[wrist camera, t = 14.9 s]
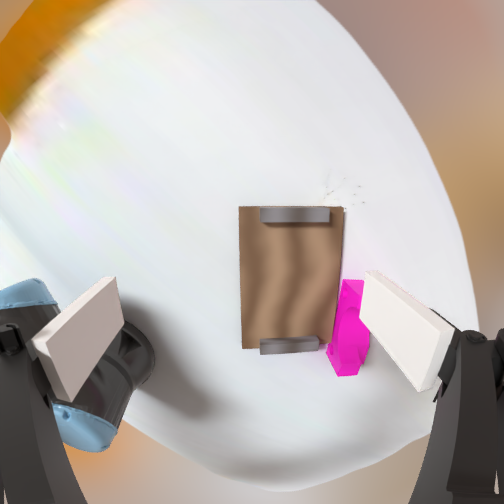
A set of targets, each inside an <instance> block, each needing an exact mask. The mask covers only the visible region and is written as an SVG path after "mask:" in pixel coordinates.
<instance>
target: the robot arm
mask: <svg viewBox="0 0 504 504" xmlns="http://www.w3.org/2000/svg"><path fill="white" fill-rule="evenodd" d="M359 318H360V319H361V321H362V322H363V323H364V324H365V325H366V327H367V328H368V329H369V330H370V332H371V333H372V334H373V335H374V336H375V338H376V339H377V340H378V341H379V343H380V344H381V345H382V346H383V348H384V349H385V350H386V351H387V353H388V354H389V355H390V357H391V358H392V359H393V360H394V362H395V363H396V364H397V365H398V367H399V368H400V369H401V371H402V372H403V373H404V374H405V376H406V377H407V378H408V380H409V381H410V382H411V384H412V385H413V386H414V388H415V389H416V390H417V391H418V393H419V392H422V391H425V390H428V389H430V388H433V386H434V383H435V381H436V379H437V376H439V377H440V379H441V380H442V383H441V385H440V388H439V390H438V392H437V394H436V396H435V398H434V400H433V402H435V401H436V400H437V405H436V411H435V416H434V421H433V426H432V430H431V435H430V439H429V443H428V447H427V450H426V454H425V457H424V461H423V464H422V467H421V471H420V474H419V477H418V480H417V482H416V485H415V488H414V491H413V493H412V496H411V498H410V501H409V503H408V504H504V328H503V329H500V330H499V332H498V334H497V337H496V340H487V338H486V337H485V336H484V335H483V334H481V333H479V332H477V331H474V330H466V331H463V332H461V331H460V330H459V329H457V328H456V327H455V326H454V325H452V324H451V323H450V322H449V321H447V320H446V319H445V318H443V317H442V316H440V314H438V313H437V312H436V311H434V310H432V309H430V308H428V307H427V306H425V305H424V304H423V303H421V302H420V301H419V300H417V299H416V298H415V297H413V296H412V295H411V294H409V293H408V292H407V291H405V290H404V289H402V288H401V287H400V286H398V285H397V284H396V283H394V282H393V281H391V280H390V279H389V278H387V277H386V276H384V275H383V274H382V273H380V272H379V271H366V272H365V280H364V288H363V296H362V302H361V309H360V315H359ZM154 362H155V358H154V353H153V349H152V347H151V345H150V343H149V342H148V340H147V339H146V337H145V336H144V335H143V334H142V333H141V332H140V331H139V330H138V329H137V328H135V327H134V326H133V325H131V324H129V323H128V322H126V321H124V319H123V314H122V309H121V304H120V299H119V294H118V288H117V282H116V277H103V278H102V279H100V280H99V281H98V282H97V283H95V284H94V285H93V286H92V287H90V288H89V289H88V290H87V291H86V292H84V293H83V294H82V295H81V296H80V297H78V298H77V299H76V300H75V301H74V302H72V303H71V304H70V305H69V306H68V307H67V308H65V309H64V310H63V311H62V312H61V311H60V309H59V308H58V306H57V302H56V301H55V300H54V299H53V297H52V296H51V294H50V292H49V291H48V289H47V287H46V285H45V284H44V282H43V281H41V280H40V279H37V278H32V279H28V280H25V281H22V282H19V283H16V284H14V285H12V286H9V287H7V288H5V289H3V290H0V504H4V490H5V494H6V498H7V502H8V504H87V502H86V500H85V497H84V495H83V493H82V491H81V489H80V487H79V484H78V482H77V480H76V477H75V475H74V473H73V470H72V468H71V465H70V463H69V460H68V457H67V454H66V451H65V448H64V445H63V442H64V443H66V444H67V445H69V446H72V447H74V448H76V449H79V450H83V451H87V452H102V451H104V450H106V449H107V448H108V447H109V446H110V444H111V442H112V440H113V438H114V437H115V435H116V434H117V430H118V428H119V425H120V422H121V420H122V417H123V415H124V412H125V410H126V407H127V405H128V402H129V400H130V397H131V395H132V393H133V391H134V390H136V389H137V388H138V387H139V386H140V385H141V384H143V383H144V382H145V381H146V380H147V379H148V378H149V376H150V374H151V372H152V370H153V367H154ZM496 470H497V477H498V487H499V494H495V492H494V486H495V478H496Z"/></svg>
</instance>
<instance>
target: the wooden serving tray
mask: <svg viewBox="0 0 504 504" xmlns="http://www.w3.org/2000/svg"><path fill="white" fill-rule="evenodd" d="M343 211H344V207H325V206H241V207H239V249H240V291H241V326H242V349H253V348H260V355H267V354H284V353H297V352H309V351H318V349H319V344H325V343H331V341H332V334H333V327H334V319H335V312H336V303H337V294H338V285H339V274H340V262H341V249H342V233H343Z"/></svg>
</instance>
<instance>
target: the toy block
mask: <svg viewBox="0 0 504 504" xmlns="http://www.w3.org/2000/svg"><path fill="white" fill-rule="evenodd" d="M363 288H364V281H363V280H349V279H343V281H342V286H341V291H340V296H339V301H338V306H337V310H336V315H335V319H334V327H333V334H332V341H331V343H329V344H328V348H327V352H326V354H327V356H328V358H329V360H330V362H331V364H332V366H333V368H334V370H335V372H336V374H337V376H338V377H340V376H352V375H357V374H358V371H359V368H360V366H361V364H364V361H365V358H366V355H367V352H368V349H369V333H370V330H369V329H368V328H367V327H366V325H365V324H364V323H363V322H362V321H361V319H360V318H359V315H360V309H361V302H362V296H363Z"/></svg>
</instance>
